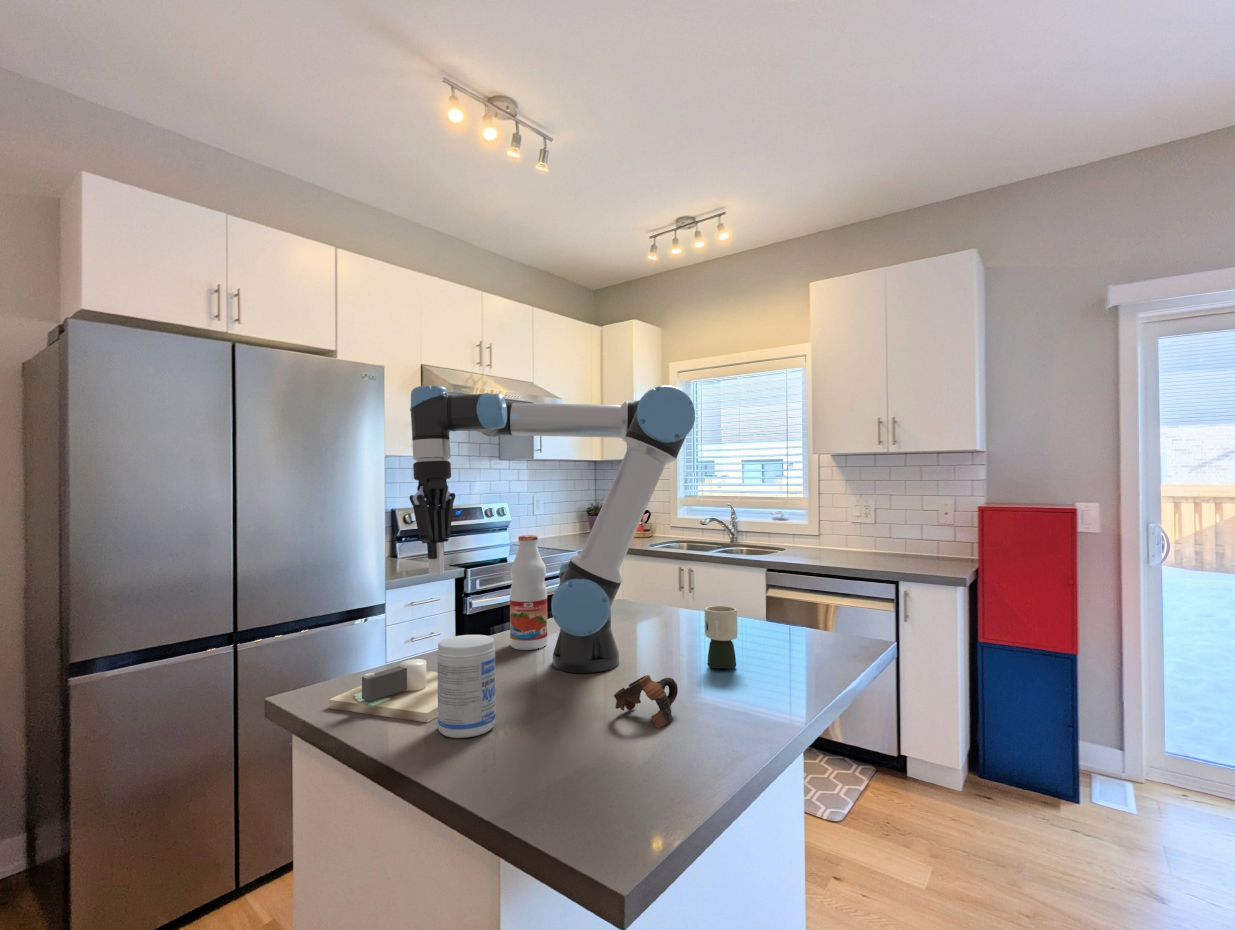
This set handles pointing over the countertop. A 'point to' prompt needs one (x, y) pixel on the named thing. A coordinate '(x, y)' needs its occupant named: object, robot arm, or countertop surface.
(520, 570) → the fruit juice
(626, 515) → the robot arm
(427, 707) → the board
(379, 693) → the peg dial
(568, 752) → the countertop surface
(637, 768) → the countertop surface
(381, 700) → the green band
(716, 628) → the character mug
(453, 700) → the supplement tub
